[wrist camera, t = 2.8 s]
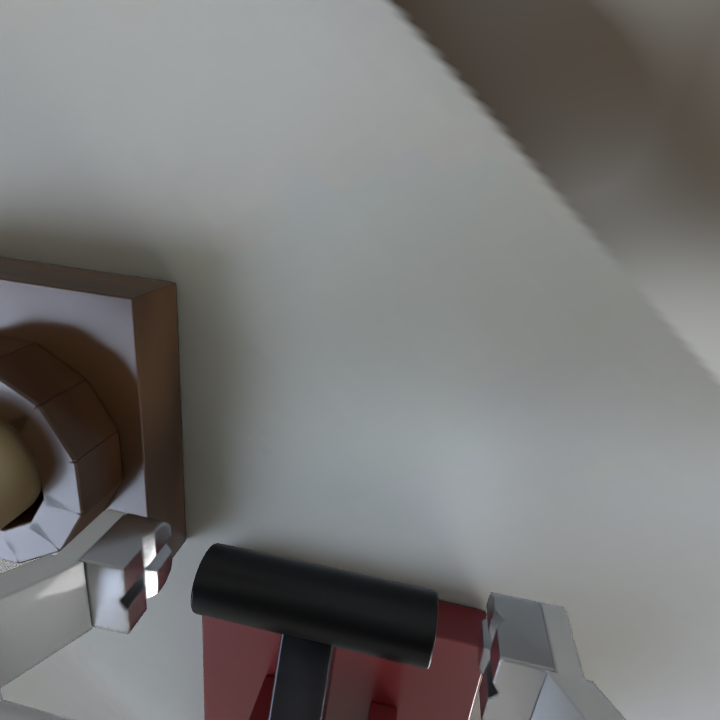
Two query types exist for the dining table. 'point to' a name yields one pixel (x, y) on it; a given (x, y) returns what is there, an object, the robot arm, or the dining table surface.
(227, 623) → the bracket
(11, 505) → the button
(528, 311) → the dining table surface
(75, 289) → the control block
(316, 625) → the lever
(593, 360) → the dining table surface
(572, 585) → the dining table surface
